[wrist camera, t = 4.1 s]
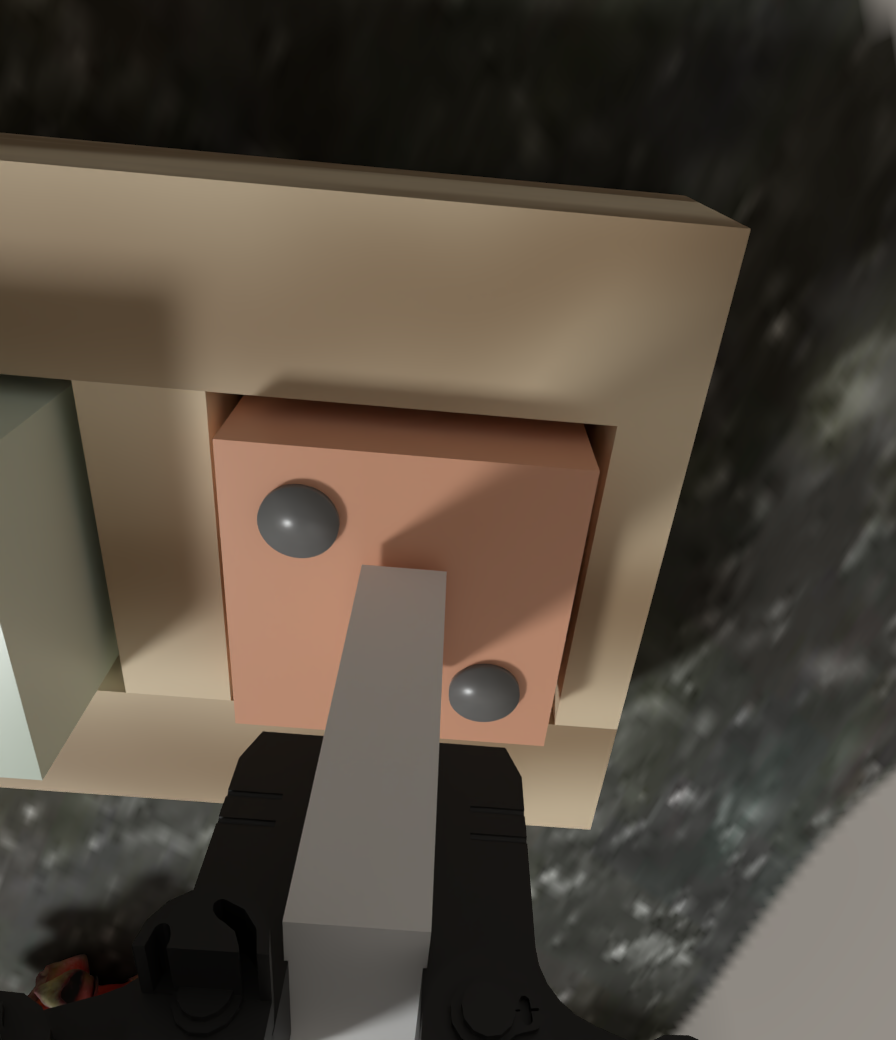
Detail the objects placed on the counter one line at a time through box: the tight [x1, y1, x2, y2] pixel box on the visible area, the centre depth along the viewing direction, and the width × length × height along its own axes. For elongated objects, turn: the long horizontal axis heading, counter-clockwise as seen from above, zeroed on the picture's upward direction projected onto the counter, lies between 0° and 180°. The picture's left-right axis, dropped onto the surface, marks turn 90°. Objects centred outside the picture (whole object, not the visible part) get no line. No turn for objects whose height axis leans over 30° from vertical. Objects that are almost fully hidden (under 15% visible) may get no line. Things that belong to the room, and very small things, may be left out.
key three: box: [213, 395, 600, 746], centre depth 16 cm, size 6×6×4 cm
